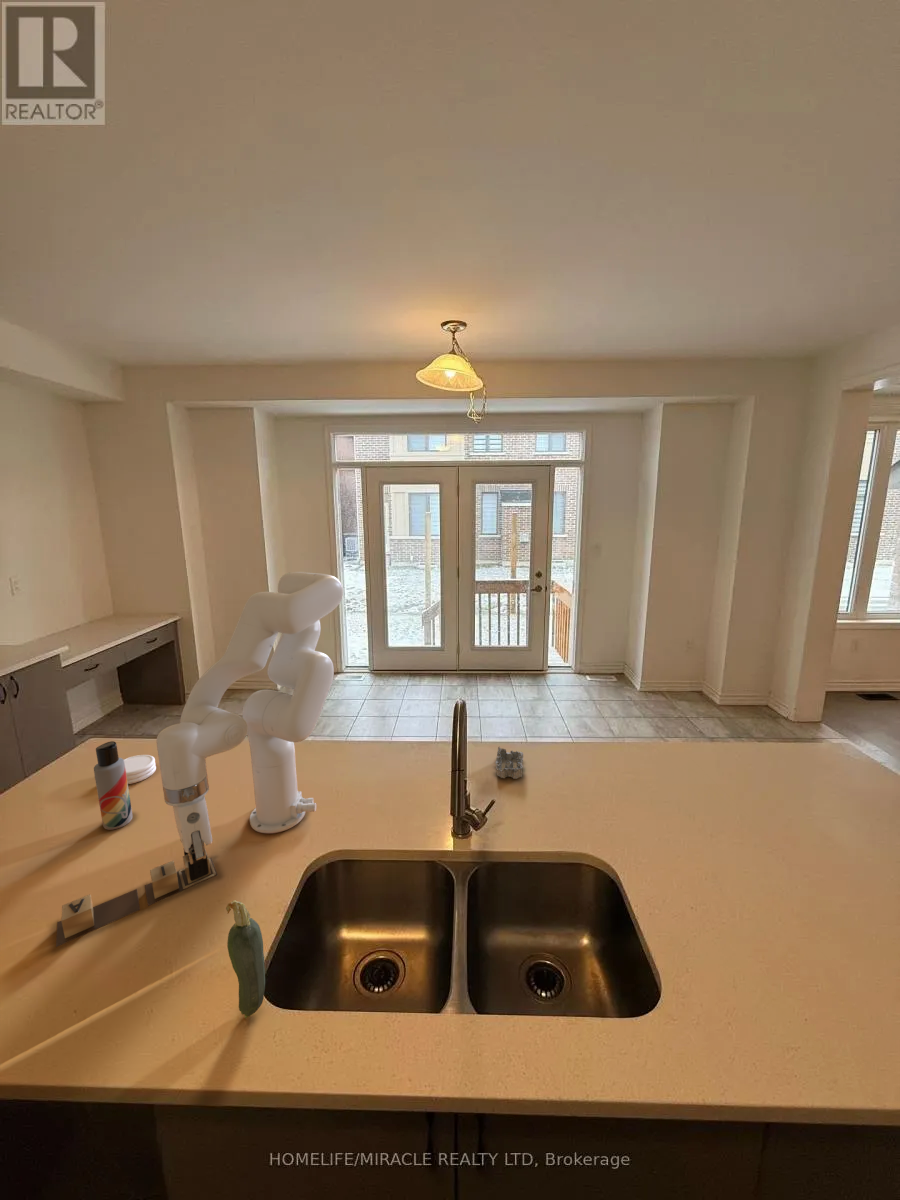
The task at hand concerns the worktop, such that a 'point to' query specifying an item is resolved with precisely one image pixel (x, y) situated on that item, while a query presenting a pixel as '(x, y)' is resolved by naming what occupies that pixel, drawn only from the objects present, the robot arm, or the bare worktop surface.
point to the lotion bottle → (112, 787)
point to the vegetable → (247, 958)
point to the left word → (93, 915)
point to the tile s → (186, 868)
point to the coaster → (139, 767)
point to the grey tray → (170, 881)
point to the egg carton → (509, 763)
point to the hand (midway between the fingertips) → (197, 867)
